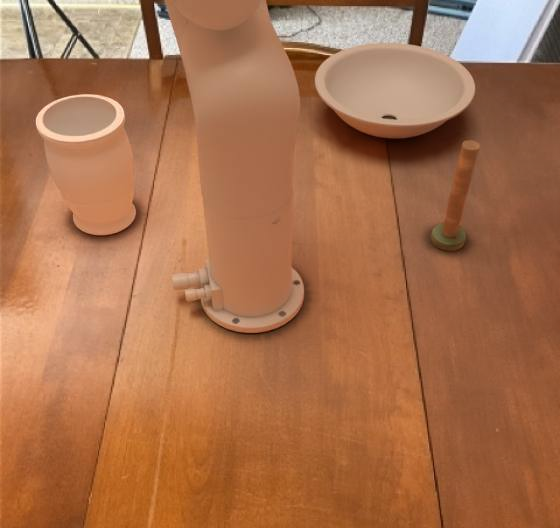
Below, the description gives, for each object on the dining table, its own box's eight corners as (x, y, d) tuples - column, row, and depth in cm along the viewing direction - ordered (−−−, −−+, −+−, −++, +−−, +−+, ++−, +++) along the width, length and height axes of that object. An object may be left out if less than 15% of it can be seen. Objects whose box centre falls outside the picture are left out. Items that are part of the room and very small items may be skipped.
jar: (159, 210, 93) (142, 109, 82) (107, 252, 88) (80, 151, 76) (102, 184, 97) (78, 84, 85) (49, 222, 92) (15, 121, 80)
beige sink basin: (282, 115, 108) (282, 75, 103) (388, 66, 118) (393, 28, 113) (390, 186, 97) (396, 144, 92) (497, 125, 106) (509, 85, 101)
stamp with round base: (437, 253, 88) (459, 158, 77) (426, 231, 91) (446, 136, 79) (469, 248, 88) (496, 153, 77) (457, 227, 91) (481, 132, 80)
